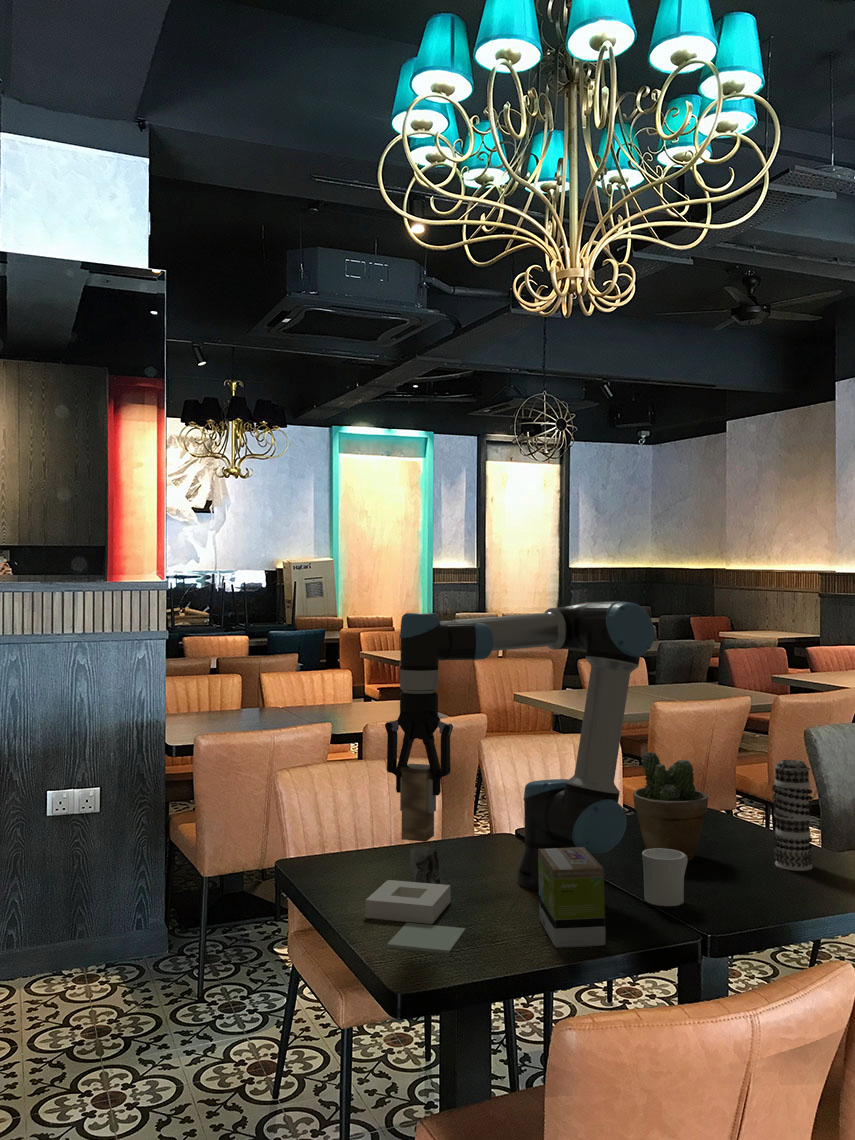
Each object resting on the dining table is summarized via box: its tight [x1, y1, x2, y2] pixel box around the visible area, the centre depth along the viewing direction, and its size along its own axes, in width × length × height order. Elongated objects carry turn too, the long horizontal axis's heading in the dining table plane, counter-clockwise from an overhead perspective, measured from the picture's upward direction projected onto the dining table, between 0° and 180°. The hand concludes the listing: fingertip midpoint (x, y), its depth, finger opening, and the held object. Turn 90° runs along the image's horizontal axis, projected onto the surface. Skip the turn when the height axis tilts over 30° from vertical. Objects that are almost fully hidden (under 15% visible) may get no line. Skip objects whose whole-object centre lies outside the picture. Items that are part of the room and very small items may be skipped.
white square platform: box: [365, 879, 452, 925], centre depth 194 cm, size 14×14×4 cm
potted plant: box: [632, 751, 709, 862], centre depth 235 cm, size 18×19×25 cm
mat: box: [386, 922, 467, 955], centre depth 178 cm, size 12×12×1 cm
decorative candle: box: [771, 759, 814, 872], centre depth 226 cm, size 9×9×25 cm
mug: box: [641, 848, 689, 909], centre depth 200 cm, size 11×9×10 cm
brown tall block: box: [400, 763, 435, 842], centre depth 184 cm, size 5×5×14 cm
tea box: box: [538, 847, 606, 948], centre depth 181 cm, size 15×10×15 cm, turn 5°
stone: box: [409, 845, 443, 885], centre depth 212 cm, size 10×10×10 cm
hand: (418, 810), depth 184 cm, fingers closed on brown tall block, 5 cm apart
